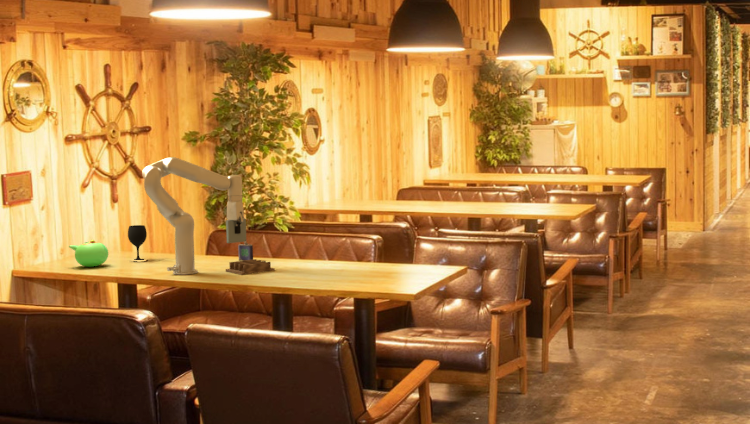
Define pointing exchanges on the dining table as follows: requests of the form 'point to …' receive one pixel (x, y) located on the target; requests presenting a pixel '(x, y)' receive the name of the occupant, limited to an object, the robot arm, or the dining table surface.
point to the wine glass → (137, 237)
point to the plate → (231, 232)
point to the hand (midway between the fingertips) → (236, 233)
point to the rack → (249, 267)
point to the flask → (245, 252)
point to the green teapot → (90, 253)
